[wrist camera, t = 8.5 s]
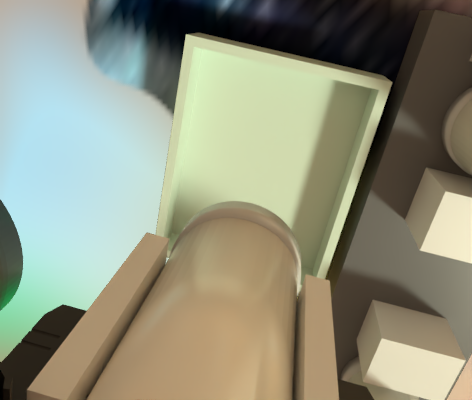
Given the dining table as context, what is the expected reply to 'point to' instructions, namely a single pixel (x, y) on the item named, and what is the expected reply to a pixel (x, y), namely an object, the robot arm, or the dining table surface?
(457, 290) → the block
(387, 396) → the cylinder
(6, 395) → the robot arm
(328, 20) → the dining table surface
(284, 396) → the marked fuse
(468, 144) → the fuse near
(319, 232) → the tray
